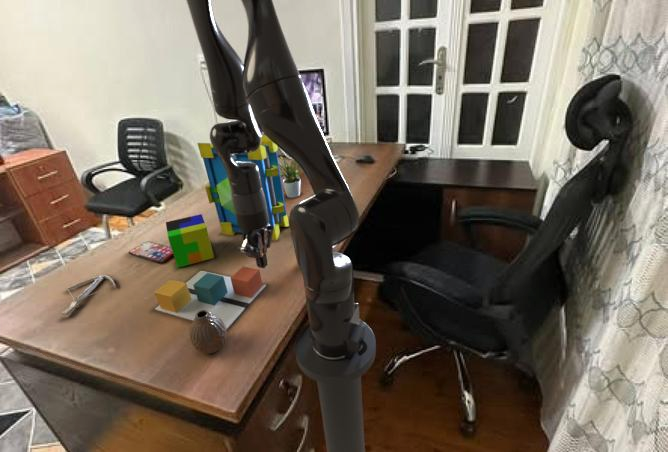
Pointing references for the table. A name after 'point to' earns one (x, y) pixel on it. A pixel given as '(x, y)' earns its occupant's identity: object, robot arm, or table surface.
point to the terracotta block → (246, 281)
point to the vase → (207, 332)
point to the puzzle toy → (189, 240)
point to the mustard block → (173, 296)
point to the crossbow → (85, 293)
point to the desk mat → (224, 308)
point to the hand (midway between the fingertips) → (262, 266)
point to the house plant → (291, 179)
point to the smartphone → (152, 252)
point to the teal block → (210, 288)
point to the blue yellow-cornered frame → (270, 183)
